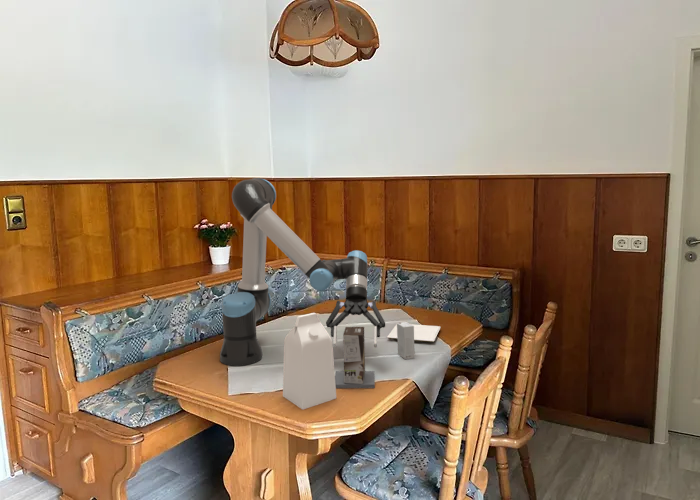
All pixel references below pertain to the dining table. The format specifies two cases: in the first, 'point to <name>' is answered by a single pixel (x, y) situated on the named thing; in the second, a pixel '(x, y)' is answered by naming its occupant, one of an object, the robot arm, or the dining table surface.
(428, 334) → the plate
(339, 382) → the mat
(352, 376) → the coffee box
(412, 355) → the skincare box
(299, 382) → the milk
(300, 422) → the dining table surface
